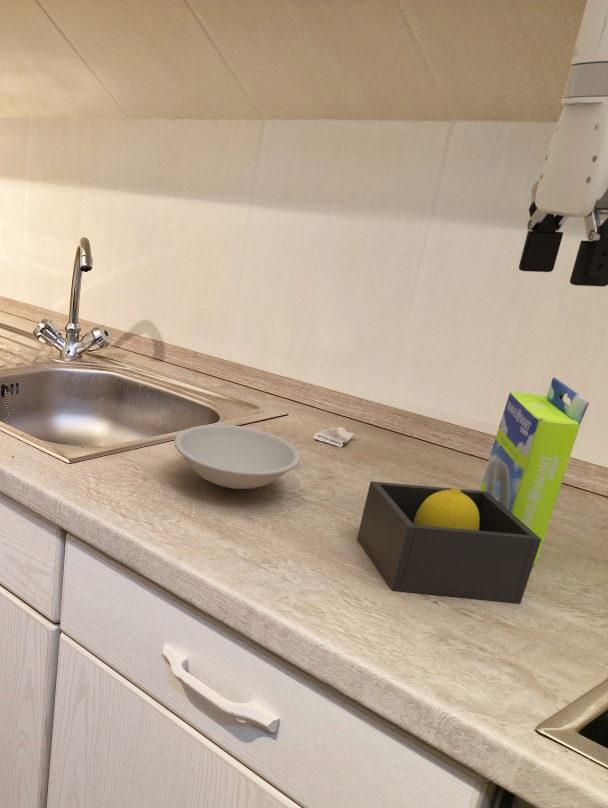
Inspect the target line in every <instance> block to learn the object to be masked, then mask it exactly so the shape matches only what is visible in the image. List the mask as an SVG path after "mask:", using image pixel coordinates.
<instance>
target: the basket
mask: <svg viewBox="0 0 608 808" xmlns="http://www.w3.org/2000/svg"><path fill="white" fill-rule="evenodd" d="M452 488H453V487H439V486H429V485H419V484H406V483H395V482H384V481H370V482H369V487H368V489H367V490H368V491H367V494H366V499H365V503H364V507H363V510H362V516H361V519H360V524H359V528H358V533H357V536H356V539H357V542H359V544H360V545H361V547H362V548H363V550H364V552H365V553H366V554H367V556H368V557H369V559H370V560H371V562H372V563H373V565H374V566H375V568H376V569H377V571H378V572H379V574H380V575H381V576H382V578H383V579H384V581H385V582H386V584H387V585H388V587H389V589H390V590H391V591H394V592H404V593H414V594H422V595H423V594H424V595H433V596H443V597H444V596H445V597H454V598H461V599H462V598H464V599H473V600H483V601H493V602H502V603H512V604H513V603H514V604H521V603H522V600H523V597H524V594H525V592H526V588H527V585H528V582H529V578H530V575H531V573H532V569H533V566H534V565H533V564H534V561H535V558H536V555H537V551H538V548H539V545H540V542H541V538H540V537H538V536H537V535H536V534H535V533H534V532H533V531H532V530H530V529H529V528H528V527H527V526H526V525H525V524H524V523H522V522H521V521H520V520H519V519H518V518H517V517H516V516H514V515H513V514H512V513H511V512H510V511H509V510H508V509H506V508H505V507H504V506H503V505H502V504H501V503H500V502H498V501H497V500H496V499H495V498H494V497H493V496H492V495H490V494H489V493H488V492H487V491H480V490H475V489H474V490H473V489H463V488H459V489H460V491H461V492H462V493H463V494H465V495H467V496H468V497H469V498H470V499H471V500H472V501H473V502H474V503H475V505H476V506H477V508H478V511H479V518H480V522H479V531H478V530H468V529H457V528H446V527H435V526H424V525H414V524H413V523H414V519H415V516H416V514H417V511H418V510H419V508H420V506H421V505H422V503H423V502H424V501H425V500H426V499H427V498H428V497H429V496H430V495H432V494H434V493H437V492H439V491H444V490H450V489H452Z"/></svg>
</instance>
